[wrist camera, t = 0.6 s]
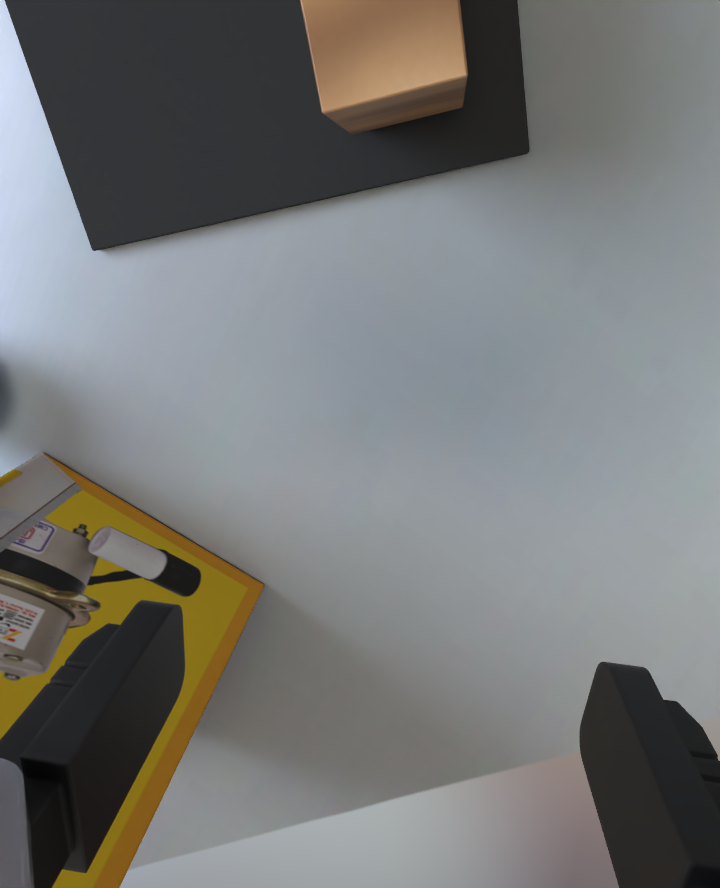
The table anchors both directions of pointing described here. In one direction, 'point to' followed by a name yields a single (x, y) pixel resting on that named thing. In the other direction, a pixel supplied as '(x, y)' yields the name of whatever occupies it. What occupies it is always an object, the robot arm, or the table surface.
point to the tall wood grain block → (386, 59)
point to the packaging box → (107, 617)
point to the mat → (237, 111)
